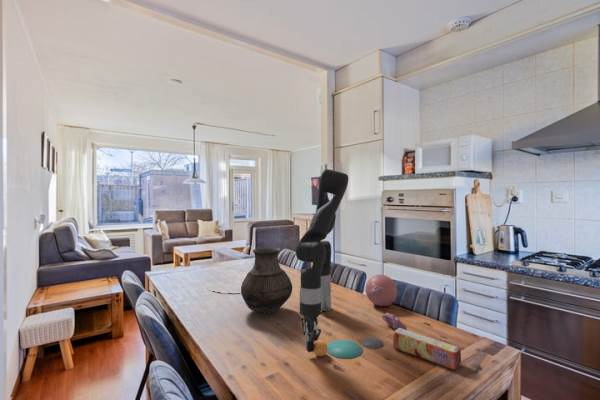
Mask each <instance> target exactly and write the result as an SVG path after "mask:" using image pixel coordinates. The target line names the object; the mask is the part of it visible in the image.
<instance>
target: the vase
mask: <svg viewBox="0 0 600 400" xmlns="http://www.w3.org/2000/svg"><path fill="white" fill-rule="evenodd" d="M281 250H282V249H281V248H278V247H261V248H254V249H252V252H253V255H254V263H253V268H251V270H249V272H248V273H247V274H246V275H245V276H246V277H245V278H244V280H243V282H242V285H241V294H240V295H241V297H242V299H243V301H244V304H245V305H246V306H247V308H249V310H250V311H251V312H254V313H258V314H273V313H275V312H277V311H279V309H281V307H283V305H284V304H285V303H286V302H288V300H289V299H290V297H291V296H292V293H293V284H292V281H291V278H290V276H289V275H288V274H287V272H286V271H285V270H284V269H283V268H281V265H280V262H279V258H278V257H279V253H280V252H281Z"/></svg>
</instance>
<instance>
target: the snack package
mask: <svg viewBox="0 0 600 400" xmlns="http://www.w3.org/2000/svg"><path fill="white" fill-rule="evenodd" d="M394 330H395V329H394ZM392 341H393V342H392V346H393V348H394V349H396V350H399V351H401V352H404V353H407V354H409V355H411V356H412V355H413V356H416V357H417V358H421V359H424V360H427V361H428V362H432V363H434V364H437V365H440V366H442V367H445V368H447V369H449V368H450V370H452V371H457V370H458V368H459V367H460V366H461V363H462V353H461V349H460V348H459V347H458V346H456V345H453V344H451V343H450V344H449V343H447V342H444V341H441V340H437V339H435V338H432V337H429V336H425V335H422V334H418V333H415V332H413V331H410V330H404V329H401V328H398V329H397V330H395V331H394V333H393V338H392Z"/></svg>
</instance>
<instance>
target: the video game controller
mask: <svg viewBox="0 0 600 400" xmlns="http://www.w3.org/2000/svg"><path fill="white" fill-rule="evenodd" d="M382 320H383V321H384V322H385V323H386V324H387V325H388V327H390V328H393V330H397V329H398V328H401V329H404V330H407V329H408V327H407V326H406V324H404V323H403V322H402V321H401V320H400V319H399V318H397V317H396V316H395V315H394V314H392V313H389V312H386V313H384V314H383V315H382ZM407 331H408V330H407Z"/></svg>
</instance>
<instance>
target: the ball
mask: <svg viewBox="0 0 600 400" xmlns="http://www.w3.org/2000/svg"><path fill="white" fill-rule="evenodd" d="M327 344H328V343H327V342H326V341H324V340H321V339H318V340H317V341H314V351H313V353H314V354H315V355H316V356H318V357H324V356H325V355H326V354H328V352H327V350H328V347H327Z"/></svg>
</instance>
